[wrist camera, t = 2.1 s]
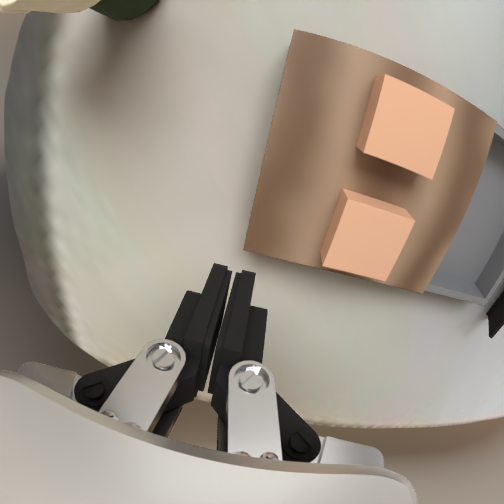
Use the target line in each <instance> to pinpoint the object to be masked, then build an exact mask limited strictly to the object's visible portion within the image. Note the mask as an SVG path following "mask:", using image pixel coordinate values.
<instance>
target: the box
mask: <svg viewBox="0 0 504 504" xmlns="http://www.w3.org/2000/svg"><path fill="white" fill-rule="evenodd" d="M503 277H504V129H503V128H502V127H501V126H499V125H498V124H497V125H496V128H495V132H494V136H493V139H492V143H491V146H490V149H489V153H488V156H487V159H486V162H485V165H484V168H483V170H482V173H481V176H480V179H479V181H478V184H477V187H476V189H475V192H474V194H473V197H472V199H471V202H470V204H469V206H468V209H467V211H466V213H465V215H464V218H463V220H462V222H461V224H460V226H459V228H458V230H457V233H456V235H455V237H454V239H453V241H452V243H451V245H450V247H449V248H448V250H447V252H446V254H445V256H444V258H443V260H442V262H441V263H440V265H439V267H438V269H437V270H436V272H435V274H434V276H433V277H432V279H431V281H430V282H429V284H428V286H427V287H426V289H425V291H428V292H432V293H436V294H440V295H444V296H448V297H452V298H456V299H460V300H464V301H468V302H472V303H476V304H480V305H484V306H485V305H486V304H487V302H488V301H489V299H490V298H491V296H492V295H493V293H494V292H495V290H496V289H497V287H498V285H499V284H500V282H501V281H502V279H503Z"/></svg>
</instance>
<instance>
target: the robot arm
mask: <svg viewBox="0 0 504 504" xmlns="http://www.w3.org/2000/svg"><path fill="white" fill-rule="evenodd" d="M227 268H228V266H224V265H220V264H216V263H214V265H213V267H212V269H211V272H210V274H209V277H208V279H207V282H206V284H205V287H204V289H203V292H202V294H200V293H196V292H192V291H187V292H186V294H185V296H184V298H183V300H182V302H181V304H180V307H179V309H178V311H177V313H176V315H175V317H174V320H173V322H172V324H171V326H170V329H169V331H168V333H167V335H166V338H165V339H158V340H153V341H151V342H149V343H148V344H147V345H146V346H145V347H144V348H143V349H142V350H141V352H140V353H139V355H138V356H137V357H136V359H133V360H130V361H127V362H124V363H121V364H118V365H115V366H112V367H109V368H105V369H102V370H99V371H96V372H92V373H89V374H86V375H84V376H79V375H77V373H76V372H72V371H67V370H63V369H59V368H55V367H52V366H48V365H44V364H40V363H37V362H28V363H25V364H24V365H22V366H21V368H20V369H19V371H18V373H14V372H10V371H4V370H0V504H418V501H417V496H416V493H415V490H414V488H413V486H412V484H411V483H410V482H409V480H408V479H406V478H405V477H403V476H402V475H400V474H398V473H395V472H392V471H390V470H387V469H383V468H384V457H383V455H382V454H381V452H380V451H379V450H378V449H376V448H374V447H371V446H366V445H362V444H357V443H353V442H349V441H345V440H341V439H336V438H333V437H329V436H327V437H325V438H324V437H320V436H318V435H317V434H316V432H315V431H314V430H313V429H312V428H311V427H310V426H309V425H308V424H307V423H306V422H305V421H304V420H303V419H302V418H301V417H300V416H299V415H298V414H297V413H296V412H295V411H294V410H293V409H292V408H291V407H290V406H289V405H288V404H287V403H286V402H285V401H284V400H283V399H282V398H281V397H280V396H279V395H278V393H277V392H276V390H275V380H274V376H273V374H272V372H271V371H270V369H269V368H267V367H266V366H265V365H263V364H262V358H263V349H264V340H265V331H266V322H267V309H263V308H259V307H254V306H250V303H251V298H252V292H253V286H254V281H255V275H256V273H254V272H249V271H245V270H242V273H238V272H236V275H235V278H234V282H233V286H232V289H231V293H230V297H229V300H228V304H227V308H226V311H225V315H224V310H225V304H226V299H227V294H228V289H229V284H230V279H231V274H232V271H229V270H227ZM223 315H224V319H223ZM222 320H223V322H222ZM221 324H222V326H221ZM220 328H221V330H220ZM219 331H220V333H219ZM218 335H219V337H218ZM217 339H218V341H217ZM216 343H217V345H216ZM215 346H216V349H215ZM214 350H215V355H214V360H213V365H212V371H211V377H210V382H209V388H208V393H211V394H213V396H212V401H211V406H212V407H213V408H214V410H215V411H216V412H217V414H218V420H217V421H218V422H217V450H211V449H208V448H203V447H199V446H195V445H191V444H187V443H183V442H180V441H176V440H173V439H169V438H168V436H169V434H170V432H171V430H172V428H173V426H174V425H175V423H176V421H177V418H178V416H179V414H180V413H181V411H182V409H183V406H184V404H186V403H188V402H191V401H193V400H194V397H196V396H197V392H198V390H199V391H204V387H205V383H206V380H207V376H208V372H209V368H210V365H211V361H212V357H213V354H214Z"/></svg>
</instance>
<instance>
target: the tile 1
mask: <svg viewBox="0 0 504 504" xmlns="http://www.w3.org/2000/svg"><path fill="white" fill-rule="evenodd" d="M414 223H415V220H414V219H413V218H412V217H411V215H410V214H409V213H408V212H407V211H406V209H404V208H401V207H398V206H395V205H392V204H390V203H387V202H384V201H381V200H378V199H375V198H372V197H369V196H366V195H363V194H359V193H356V192H353V191H350V190H347V189H343V188H342V191H341V194H340V197H339V200H338V203H337V206H336V209H335V212H334V215H333V217H332V220H331V223H330V226H329V228H328V231H327V234H326V237H325V239H324V242H323V245H322V247H321V250H320V253H321V259H322V266H325V267H329V268H333V269H337V270H341V271H345V272H349V273H353V274H357V275H362V276H366V277H370V278H374V279H378V280H382V281H386V279H387V278H388V276H389V274H390V272H391V270H392V268H393V266H394V264H395V262H396V260H397V258H398V256H399V254H400V252H401V250H402V248H403V246H404V244H405V242H406V240H407V238H408V236H409V234H410V232H411V229H412V227H413V225H414Z"/></svg>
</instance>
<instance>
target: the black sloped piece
mask: <svg viewBox="0 0 504 504" xmlns="http://www.w3.org/2000/svg"><path fill="white" fill-rule="evenodd" d="M486 314H487V315H488V317H489V318H488V320H489V337H490V338H492V337H493V336H494V335H495V334H496V333H497V332H498V331H499V329H500V328H501V327H502V326H503V325H504V291H503V292H502V293H501V296H500V297H499V298H498V299H497V300H496V302H495V303H494V304H493V306H492V307H491V308H490V309H489V311H488V312H487V313H486Z"/></svg>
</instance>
